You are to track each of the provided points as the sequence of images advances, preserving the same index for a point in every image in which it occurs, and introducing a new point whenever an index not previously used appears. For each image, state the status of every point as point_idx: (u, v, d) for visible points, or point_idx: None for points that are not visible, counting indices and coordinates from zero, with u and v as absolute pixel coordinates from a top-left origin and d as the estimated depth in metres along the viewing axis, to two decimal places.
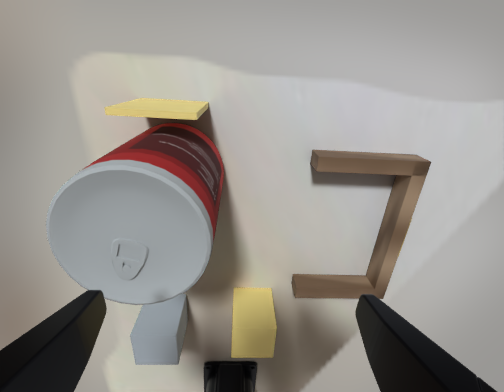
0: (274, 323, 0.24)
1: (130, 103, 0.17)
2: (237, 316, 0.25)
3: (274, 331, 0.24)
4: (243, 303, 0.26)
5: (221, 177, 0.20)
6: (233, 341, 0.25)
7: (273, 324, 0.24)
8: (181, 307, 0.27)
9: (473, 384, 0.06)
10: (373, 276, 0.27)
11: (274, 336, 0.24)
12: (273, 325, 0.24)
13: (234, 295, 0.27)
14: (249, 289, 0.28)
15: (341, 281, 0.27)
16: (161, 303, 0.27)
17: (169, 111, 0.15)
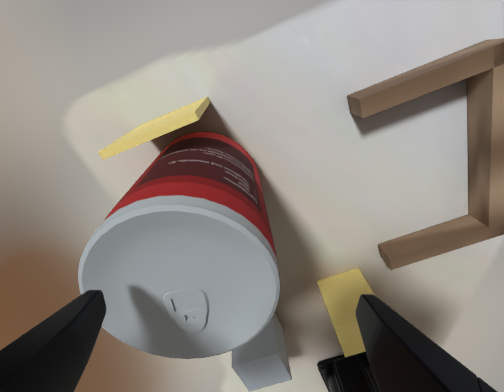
0: None
1: (126, 135, 0.15)
2: (334, 312, 0.22)
3: None
4: (334, 295, 0.23)
5: (255, 172, 0.16)
6: (341, 340, 0.21)
7: None
8: (270, 319, 0.25)
9: (473, 384, 0.06)
10: (480, 212, 0.21)
11: None
12: None
13: (321, 289, 0.24)
14: (334, 277, 0.25)
15: (441, 232, 0.22)
16: None
17: (165, 124, 0.12)
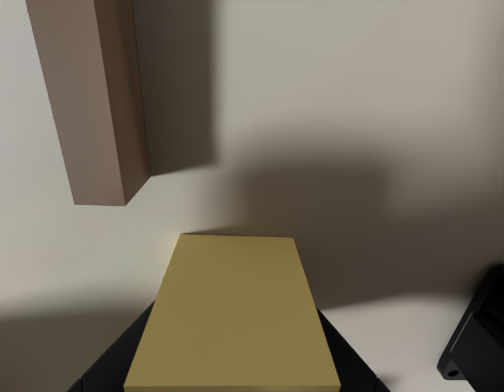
0: None
1: None
2: None
3: None
4: None
5: None
6: None
7: None
8: None
9: (368, 384, 0.06)
10: None
11: (181, 390, 0.05)
12: None
13: None
14: None
15: None
16: None
17: None
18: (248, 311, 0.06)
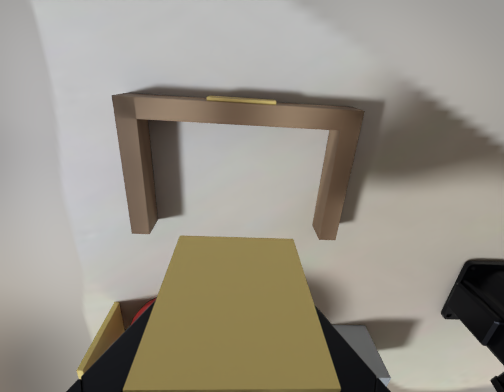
0: (134, 365, 0.05)
1: None
2: None
3: None
4: None
5: None
6: None
7: None
8: None
9: (368, 385, 0.06)
10: None
11: None
12: None
13: None
14: None
15: (326, 171, 0.18)
16: None
17: None
18: (248, 314, 0.06)
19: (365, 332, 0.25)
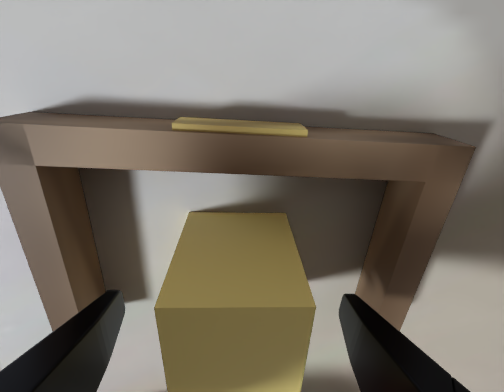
0: None
1: None
2: None
3: (170, 313, 0.07)
4: None
5: None
6: None
7: None
8: None
9: (447, 384, 0.06)
10: None
11: (197, 311, 0.07)
12: None
13: None
14: None
15: (385, 241, 0.11)
16: None
17: None
18: (246, 263, 0.08)
19: None
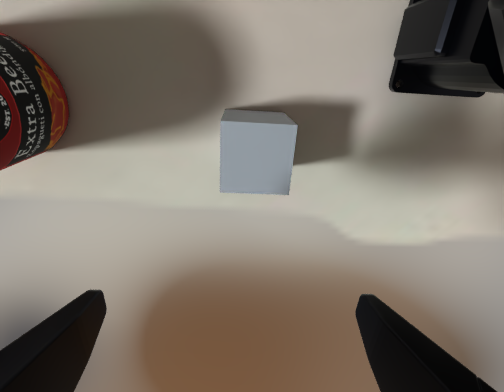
0: None
1: None
2: None
3: None
4: None
5: None
6: None
7: None
8: (224, 115, 0.17)
9: (473, 384, 0.06)
10: None
11: None
12: None
13: None
14: None
15: None
16: None
17: None
18: None
19: (280, 113, 0.18)
